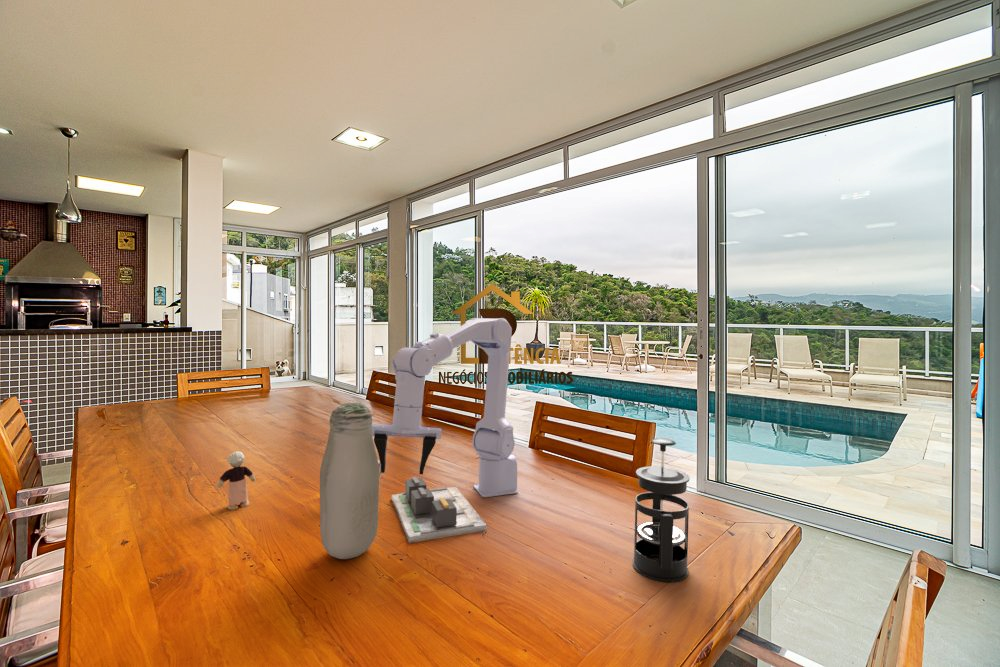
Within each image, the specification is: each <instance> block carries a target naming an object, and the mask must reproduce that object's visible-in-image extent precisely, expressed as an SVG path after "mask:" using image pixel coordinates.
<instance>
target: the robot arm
mask: <svg viewBox="0 0 1000 667" xmlns="http://www.w3.org/2000/svg"><path fill="white" fill-rule="evenodd" d="M512 331H513V328H512V326H511V325H510V323H509V322H508V320H507V319H506V318H504V317H501V318H487V317H486V318H483V317H482V318H481V317H480V318H479V317H473V318H471V319H468V320H466V321H465V323H463V324H462V325H460V326H459V327H457V328H455V329H454V330H452V331H451V332H449V333H447V334H443V333H439V332H433V333H430V335H429V338H427V339H425V340H423V341H417V342H414V345H413V346H411V347H402V348H400V349H399V350H398V351H397V352H396V353H395V355H394V358H393V359H392V360H391V365H392V366H391V367H392V368H393V370H394V375H395V376H394V379H395V382H396V383H395V392H394V393H395V394H394V403H393V414H392V415H393V416H392V424H372V437H373V443H374V446H375V449H376V452H377V453H378V457H379V459H378V460H379V462H380V465H381V474H384V473H385V472H386V463H387V462H386V461H387V460H386V459H387V458H386V457H387V456H386V455H387V448H388V447H387V445H388V439H389V438H388V437H401V438H402V437H403V438H420V439H422V447H421V448H422V449H421V458H420V465H419V471H418V472H419V473H418V474H419V475H423V474H424V470H425V467H426V464H427V461H428V458H429V456H430V454H431V452H432V450H433V449H434V447H435V445H436V443H437V442H436V441H437V440H442V432H443V429H442V428H439V427H438V428H437V427H428V426H422V425H421V423H422V414H423V404H424V392H425V382H426V381H425V380H426V376H428V375H430V373H431V372H432V369H433V367H434V366H435V365H437V364H439V363H441V362H442V361H443V362H444V360H446V359H448V358H450V357H451V356H452V354H453V352H454V351H453V350H454V349H456V348H457V347H461V346H462V345H464V344H466V343H468V342H472V343H473V344H474V345H476V346H477V347H478V348H480V349H482V350H483V352H485V354H486V355H487V358H488V359H487V368H486V369H487V371H486V384H485V396H484V398H485V399H484V408H483V409H484V412H483V418H481V419H480V420H478V421H476V424H475V431H474V432H473V435H472V438H471V442H472V447H473V449H474V451H475V452H476V455H477V456H478V483H477V484H473V488H474V490H476V491H477V493H478V494H480V496H481V497H482V498H490V497H496V496H504V495H511V494H518V493H519V490H518V463H517V458H516V457H515V455H514V454H512V453H513V451H514V449H515V445H516V443H515V438H514V427H513V426H512V424H511V423H509V421H508V420H507V419H506V407H507V406H506V405H507V394H508V392H507V391H508V380H509V366H510V354H511V353H510V352H511V348H512V336H513V335H512V333H513V332H512Z"/></svg>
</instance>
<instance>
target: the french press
mask: <svg viewBox="0 0 1000 667" xmlns="http://www.w3.org/2000/svg"><path fill="white" fill-rule="evenodd" d="M650 442H651V443H652V444H654V445H656V446H657V445H658V446H659V451H660V452H661V466H652V465H651V466H650V465H649V466H643V467H640V468H637V469H636V470H635V475H636V476H637V477H638V481H637V482H638V486H639V488H641V489H643V490H645V491H647V492H642V493H639V494H637V495H636V496H635V502H634V505H635V506H634V540H633V542H634V547H633V550H634V551H633V559H632V566H633V568H634V570H635V571H636V572H637V573H638V574H640V575H641V576H643V577H644V578H647V579H650V580H652V581H657V582H661V583H678V582H682V581H684V580H685V579H687V577H688V576H689V568H688V553H689V552H688V549H689V548H688V547H689V513H690V512H689V511H690V510H689V508H690V505H689V502H688V501H687V500H685V499H684V498H682V497H680V496H677V495H681V494H684V493H686V492H687V488H688V487H687V486H688V484H687V483H689V481H690V479H691V478H690V475H688V474H687V473H686V472H684V471H681V470H679V469H675V468H672V467H667V466H664V465H665V464H664V463H665V452H666V450H667V447H669V446H671V447H672V446H675V445H676V442H675V441H674V440H672V439H669V438H662V437H661V438H659V437H658V438H657V437H656V438H652V439H650ZM649 500H652V508H650V507H647V506H645V505H643V504H642V503H640V502H641V501H649ZM663 501H665V502H670V503H674V504H677V505H678V506H680V507H683V509H682V510H675V511H673V510H672V511H668V510H664V511H663V506H664V504H663V503H664V502H663ZM638 512H640V513H642V514H643V515H645V516H648V517H652V521H651V522H649V521H648V522H643V523H640V524H639V525H638ZM681 519H685V520H684V531H683V530H682V529H680V528H679V527H677V526H674V520H681ZM637 537H639V538H640V539H637ZM683 544H684V545H683ZM682 545H683V546H682ZM650 557H658V560H657V559H653V558H650Z"/></svg>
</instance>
